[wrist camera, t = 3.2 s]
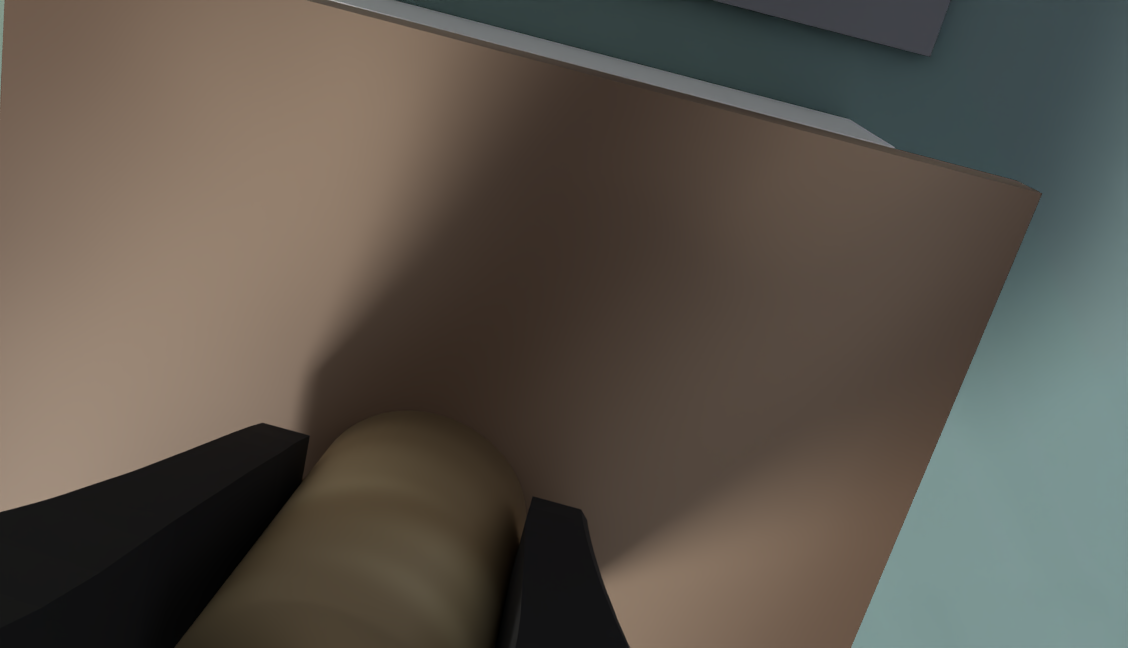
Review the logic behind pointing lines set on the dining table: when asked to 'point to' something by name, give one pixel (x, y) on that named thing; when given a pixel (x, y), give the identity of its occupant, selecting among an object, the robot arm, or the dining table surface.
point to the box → (618, 67)
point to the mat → (864, 18)
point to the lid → (477, 317)
